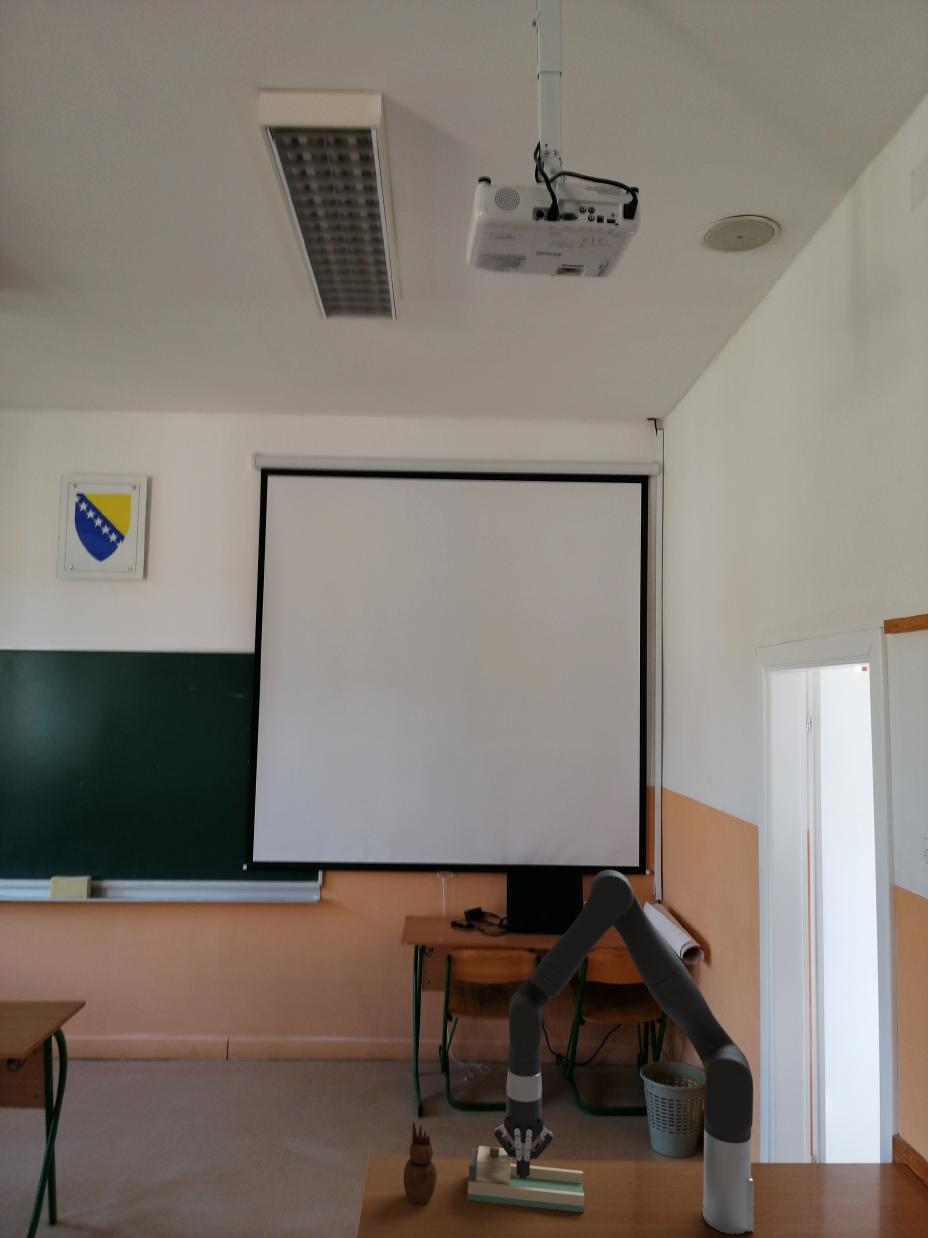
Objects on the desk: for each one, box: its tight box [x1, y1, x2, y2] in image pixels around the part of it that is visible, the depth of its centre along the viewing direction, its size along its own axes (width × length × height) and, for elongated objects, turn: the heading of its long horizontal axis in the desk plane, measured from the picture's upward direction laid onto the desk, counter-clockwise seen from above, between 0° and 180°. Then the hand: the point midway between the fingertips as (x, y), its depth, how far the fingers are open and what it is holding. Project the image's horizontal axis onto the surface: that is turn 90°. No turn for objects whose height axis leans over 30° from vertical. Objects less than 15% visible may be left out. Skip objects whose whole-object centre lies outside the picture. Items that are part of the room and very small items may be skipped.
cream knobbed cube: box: [476, 1145, 512, 1185], centre depth 175 cm, size 7×6×7 cm
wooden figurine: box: [403, 1121, 438, 1205], centre depth 171 cm, size 7×6×15 cm
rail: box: [467, 1147, 585, 1213], centre depth 174 cm, size 24×9×6 cm, turn 84°
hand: (522, 1177), depth 174 cm, fingers closed
